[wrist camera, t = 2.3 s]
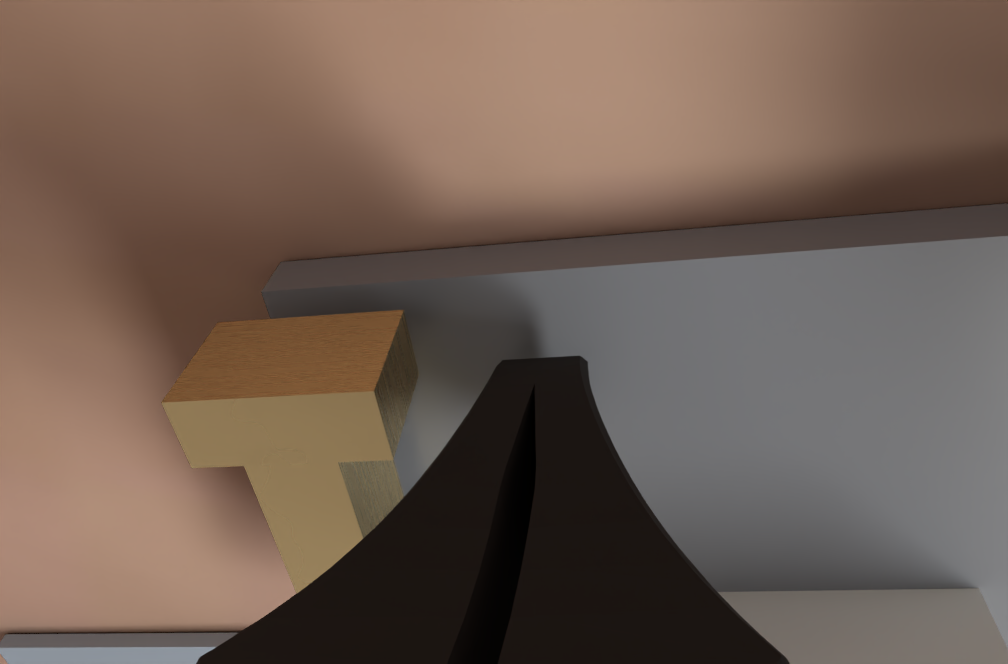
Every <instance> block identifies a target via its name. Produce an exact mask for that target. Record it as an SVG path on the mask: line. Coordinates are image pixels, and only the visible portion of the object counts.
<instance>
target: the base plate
mask: <svg viewBox="0 0 1008 664" xmlns="http://www.w3.org/2000/svg"><path fill="white" fill-rule="evenodd" d="M261 293H262V296H263V299H264V302H265V304H266V307H267V310H268V313H269V316H270V319H276V318H291V317H305V316H320V315H334V314H348V313H363V312H377V311H392V310H404V312H405V317H406V321H407V325H408V329H409V333H410V337H411V342H412V346H413V350H414V354H415V358H416V362H417V367H418V371H419V376H418V380H417V383H416V386H415V389H414V393H413V396H412V399H411V403H410V406H409V409H408V413H407V416H406V419H405V423H404V426H403V429H402V433H401V436H400V439H399V443H398V446H397V449H396V453H395V456H394V462H395V465H396V469H397V472H398V476H399V480H400V483H401V487H402V490H403V494H404V496H405V495H406V494H407V493H408V492H409V491H410V489H411V488H412V487H413V486H414V485H415V484H416V482H417V481H418V480H419V479H420V477H421V476H422V475H423V474H424V472H425V471H426V470H427V469H428V467H429V466H430V465H431V464H432V462H433V461H434V460H435V459H436V457H437V456H438V455H439V453H440V452H441V451H442V450H443V448H444V447H445V446H446V444H447V443H448V441H449V440H450V439H451V437H452V436H453V434H454V433H455V431H456V430H457V428H458V427H459V426H460V424H461V423H462V421H463V420H464V418H465V417H466V415H467V414H468V412H469V411H470V409H471V408H472V406H473V405H474V403H475V401H476V400H477V398H478V397H479V395H480V394H481V392H482V390H483V389H484V387H485V385H486V384H487V382H488V380H489V378H490V377H491V375H492V373H493V371H494V370H495V368H496V366H497V365H498V364H499V363H500V362H501V361H502V360H510V359H528V358H546V357H563V356H581V357H583V358H584V359H585V360H586V361H588V370H589V380H590V386H591V389H592V393H593V396H594V399H595V402H596V405H597V408H598V411H599V413H600V416H601V418H602V421H603V423H604V425H605V427H606V429H607V432H608V434H609V436H610V438H611V440H612V443H613V445H614V447H615V449H616V451H617V453H618V455H619V457H620V459H621V460H622V462H623V464H624V466H625V468H626V469H627V471H628V473H629V475H630V477H631V478H632V480H633V482H634V483H635V485H636V487H637V488H638V490H639V492H640V493H641V495H642V496H643V498H644V500H645V501H646V503H647V504H648V506H649V507H650V509H651V510H652V511H653V513H654V514H655V516H656V517H657V519H658V520H659V522H660V523H661V524H662V526H663V527H664V528H665V530H666V531H667V532H668V534H669V535H670V537H671V538H672V539H673V541H674V542H675V543H676V544H677V546H678V547H679V548H680V549H681V551H682V552H683V553H684V554H685V555H686V556H687V558H688V559H689V560H690V561H691V562H692V563H693V565H694V566H695V567H696V568H697V569H698V570H699V572H700V573H701V574H702V575H703V576H704V577H705V579H706V580H707V581H708V582H709V583H710V584H711V586H712V587H713V588H714V589H715V590H716V591H717V592H751V591H823V590H894V589H966V588H979V590H980V592H981V594H982V596H983V598H984V600H985V602H986V604H987V606H988V609H989V611H990V613H991V615H992V617H993V619H994V621H995V623H996V625H997V627H998V630H999V632H1000V634H1001V636H1002V638H1003V640H1004V642H1005V644H1006V646H1007V648H1008V203H1006V204H993V205H981V206H969V207H956V208H944V209H931V210H919V211H907V212H894V213H882V214H869V215H857V216H844V217H832V218H820V219H807V220H795V221H782V222H770V223H758V224H745V225H733V226H720V227H708V228H696V229H683V230H671V231H658V232H646V233H634V234H621V235H609V236H596V237H584V238H572V239H559V240H547V241H534V242H522V243H510V244H497V245H485V246H472V247H460V248H448V249H435V250H423V251H410V252H398V253H386V254H373V255H361V256H348V257H336V258H324V259H311V260H299V261H286V262H281V263H280V264H279V266H278V267H277V269H276V270H275V272H274V273H273V275H272V276H271V278H270V279H269V281H268V282H267V284H266V285H265V287H264V288H263V290H262V291H261Z"/></svg>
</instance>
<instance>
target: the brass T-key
mask: <svg viewBox="0 0 1008 664" xmlns="http://www.w3.org/2000/svg"><path fill="white" fill-rule="evenodd" d="M418 376H419V371H418V367H417V362H416V358H415V354H414V350H413V346H412V342H411V337H410V333H409V329H408V325H407V321H406V317H405V312H404V310H392V311H377V312H363V313H348V314H334V315H320V316H305V317H291V318H276V319H262V320H248V321H233V322H219V323H217V324H216V326H215V327H214V328H213V330H212V331H211V333H210V334H209V336H208V337H207V338H206V340H205V341H204V343H203V344H202V346H201V347H200V348H199V350H198V351H197V353H196V354H195V355H194V357H193V358H192V360H191V361H190V363H189V364H188V365H187V367H186V368H185V370H184V371H183V372H182V374H181V375H180V377H179V378H178V380H177V381H176V382H175V384H174V385H173V387H172V388H171V390H170V391H169V392H168V394H167V395H166V397H165V398H164V399H163V401H162V402H161V403H162V405H163V408H164V410H165V412H166V414H167V416H168V418H169V421H170V423H171V425H172V427H173V429H174V431H175V434H176V436H177V438H178V440H179V442H180V444H181V447H182V449H183V451H184V453H185V455H186V457H187V460H188V462H189V464H190V466H191V468H210V467H234V466H244V468H245V470H246V473H247V475H248V478H249V480H250V482H251V485H252V487H253V490H254V492H255V494H256V497H257V499H258V502H259V504H260V506H261V509H262V511H263V514H264V516H265V518H266V521H267V523H268V526H269V528H270V530H271V533H272V535H273V538H274V540H275V543H276V545H277V547H278V550H279V552H280V555H281V557H282V559H283V562H284V564H285V567H286V569H287V571H288V574H289V576H290V579H291V581H292V583H293V586H294V588H295V591H296V593H298V592H300V591H301V590H302V589H304V588H305V587H306V586H308V585H309V584H310V583H312V582H313V581H314V580H315V579H317V578H318V577H319V576H321V575H322V574H323V573H324V572H326V571H327V570H328V569H329V568H331V567H332V566H333V565H334V564H335V563H336V562H338V561H339V560H340V559H341V558H342V557H343V556H344V555H345V554H347V553H348V552H349V551H350V550H351V549H352V548H353V547H354V546H356V545H357V544H358V543H359V542H360V541H361V540H362V539H363V538H364V537H365V536H366V535H367V534H369V533H370V532H371V531H372V530H373V529H374V528H375V527H376V526H377V525H378V524H379V523H380V522H381V521H382V520H383V519H384V518H385V517H386V516H387V515H388V514H389V512H390V511H391V510H392V509H393V508H394V507H395V506H396V505H397V504H398V503H399V502H400V501H401V500H402V499H403V497H404V494H403V490H402V487H401V483H400V480H399V476H398V472H397V469H396V465H395V462H394V456H395V453H396V449H397V446H398V443H399V439H400V436H401V433H402V429H403V426H404V423H405V419H406V416H407V413H408V409H409V406H410V403H411V399H412V396H413V393H414V389H415V386H416V383H417V380H418Z"/></svg>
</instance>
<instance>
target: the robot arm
mask: <svg viewBox="0 0 1008 664" xmlns="http://www.w3.org/2000/svg"><path fill="white" fill-rule="evenodd" d="M196 664H790V663H789V661H788V660H787V658H786V657H785V656H784V655H783V654H782V653H780V652H779V651H778V650H777V649H776V648H775V647H774V646H773V645H771V644H770V643H769V642H768V641H767V640H766V639H765V638H764V637H762V636H761V635H760V634H759V633H758V632H757V631H756V630H755V629H754V628H753V627H752V626H751V625H750V624H749V623H748V622H747V621H746V620H744V619H743V618H742V617H741V616H740V615H739V614H738V613H737V612H736V611H735V610H734V609H733V608H732V607H731V605H730V604H729V603H728V602H727V601H726V600H725V599H724V598H723V597H722V596H721V595H720V594H719V593H718V592H717V591H716V590H715V589H714V588H713V587H712V586H711V584H710V583H709V582H708V581H707V580H706V579H705V577H704V576H703V575H702V574H701V573H700V572H699V570H698V569H697V568H696V567H695V566H694V565H693V563H692V562H691V561H690V560H689V559H688V558H687V556H686V555H685V554H684V553H683V552H682V551H681V549H680V548H679V547H678V546H677V544H676V543H675V542H674V541H673V539H672V538H671V537H670V535H669V534H668V532H667V531H666V530H665V528H664V527H663V526H662V524H661V523H660V522H659V520H658V519H657V517H656V516H655V514H654V513H653V511H652V510H651V509H650V507H649V506H648V504H647V503H646V501H645V500H644V498H643V496H642V495H641V493H640V492H639V490H638V488H637V487H636V485H635V483H634V482H633V480H632V478H631V477H630V475H629V473H628V471H627V469H626V468H625V466H624V464H623V462H622V460H621V459H620V457H619V455H618V453H617V451H616V449H615V447H614V445H613V443H612V440H611V438H610V436H609V434H608V432H607V429H606V427H605V425H604V423H603V421H602V418H601V416H600V413H599V411H598V408H597V405H596V402H595V399H594V396H593V393H592V389H591V386H590V380H589V370H588V361H586V360H585V359H584V358H583V357H581V356H563V357H546V358H528V359H510V360H502V361H501V362H500V363H499V364H498V365H497V366H496V368H495V370H494V371H493V373H492V375H491V377H490V378H489V380H488V382H487V384H486V385H485V387H484V389H483V390H482V392H481V394H480V395H479V397H478V398H477V400H476V401H475V403H474V405H473V406H472V408H471V409H470V411H469V412H468V414H467V415H466V417H465V418H464V420H463V421H462V423H461V424H460V426H459V427H458V428H457V430H456V431H455V433H454V434H453V436H452V437H451V439H450V440H449V441H448V443H447V444H446V446H445V447H444V448H443V450H442V451H441V452H440V453H439V455H438V456H437V457H436V459H435V460H434V461H433V462H432V464H431V465H430V466H429V467H428V469H427V470H426V471H425V472H424V474H423V475H422V476H421V477H420V479H419V480H418V481H417V482H416V484H415V485H414V486H413V487H412V488H411V489H410V491H409V492H408V493H407V494H406V495H405V496H404V497H403V499H402V500H401V501H400V502H399V503H398V504H397V505H396V506H395V507H394V508H393V509H392V510H391V511H390V512H389V514H388V515H387V516H386V517H385V518H384V519H383V520H382V521H381V522H380V523H379V524H378V525H377V526H376V527H375V528H374V529H373V530H372V531H371V532H370V533H369V534H367V535H366V536H365V537H364V538H363V539H362V540H361V541H360V542H359V543H358V544H357V545H356V546H354V547H353V548H352V549H351V550H350V551H349V552H348V553H347V554H345V555H344V556H343V557H342V558H341V559H340V560H339V561H338V562H336V563H335V564H334V565H333V566H332V567H331V568H329V569H328V570H327V571H326V572H324V573H323V574H322V575H321V576H319V577H318V578H317V579H315V580H314V581H313V582H312V583H310V584H309V585H308V586H306V587H305V588H304V589H302V590H301V591H300V592H298V593H297V594H296V595H294V596H293V597H291V598H290V599H289V600H287V601H286V602H285V603H283V604H282V605H280V606H279V607H278V608H276V609H275V610H273V611H272V612H270V613H269V614H267V615H266V616H265V617H263V618H262V619H260V620H258V621H257V622H255V623H254V624H252V625H250V626H249V627H247V628H246V629H244V630H243V631H241V632H239V633H238V634H236V635H235V636H233V637H232V638H230V639H228V640H227V641H225V642H224V643H222V644H220V645H219V646H217V647H216V648H214V649H212V650H211V651H209V652H207V653H206V654H204V655H202V656H200V657H199V659H198V661H197V663H196Z"/></svg>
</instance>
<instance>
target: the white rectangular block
mask: <svg viewBox="0 0 1008 664" xmlns="http://www.w3.org/2000/svg"><path fill="white" fill-rule="evenodd" d="M718 593H719V594H720V595H721V596H722V597H723V598H724V599H725V600H726V601H727V602H728V603H729V604H730V605H731V607H732V608H733V609H734V610H735V611H736V612H737V613H738V614H739V615H740V616H741V617H742V618H743V619H744V620H746V621H747V622H748V623H749V624H750V625H751V626H752V627H753V628H754V629H755V630H756V631H757V632H758V633H759V634H760V635H761V636H762V637H764V638H765V639H766V640H767V641H768V642H769V643H770V644H771V645H773V646H774V647H775V648H776V649H777V650H778V651H779V652H780V653H782V654H783V655H784V656H785V657H786V658H787V660H788V661H789V663H790V664H1008V648H1007V646H1006V644H1005V642H1004V640H1003V638H1002V636H1001V634H1000V632H999V630H998V627H997V625H996V623H995V621H994V619H993V617H992V615H991V613H990V611H989V609H988V606H987V604H986V602H985V600H984V598H983V596H982V594H981V592H980V590H979V588H966V589H894V590H823V591H751V592H718Z"/></svg>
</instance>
